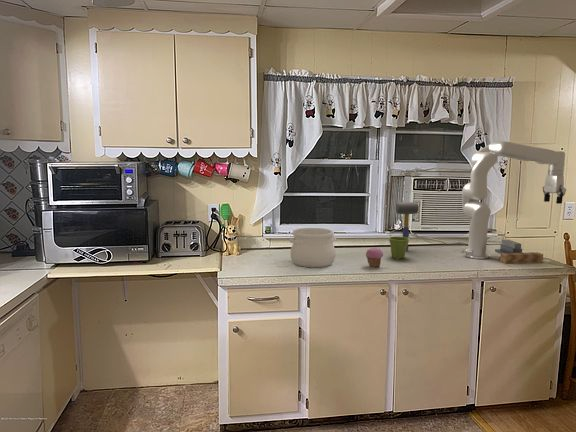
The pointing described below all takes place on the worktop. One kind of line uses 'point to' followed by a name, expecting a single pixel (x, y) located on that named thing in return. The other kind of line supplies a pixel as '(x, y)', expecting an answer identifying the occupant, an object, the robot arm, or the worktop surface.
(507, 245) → the fulcrum stand
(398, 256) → the plant pot
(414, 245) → the worktop surface
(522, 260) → the walnut rod
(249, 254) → the worktop surface
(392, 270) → the worktop surface
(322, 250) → the pot
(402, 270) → the worktop surface
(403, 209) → the rubber mallet
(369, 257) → the cupcake
